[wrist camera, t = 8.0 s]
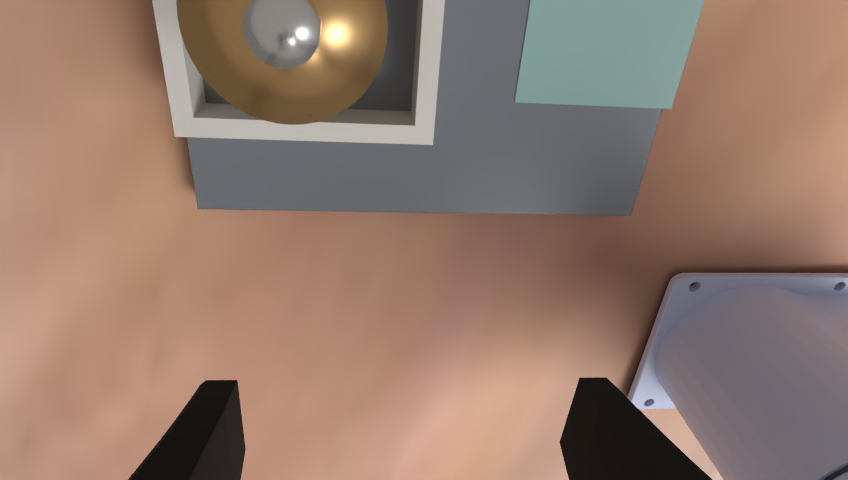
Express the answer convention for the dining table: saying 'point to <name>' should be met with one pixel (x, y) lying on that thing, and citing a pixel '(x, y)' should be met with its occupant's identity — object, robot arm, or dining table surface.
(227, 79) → the cell
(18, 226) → the dining table surface
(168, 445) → the robot arm
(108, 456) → the dining table surface
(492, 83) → the gray board
